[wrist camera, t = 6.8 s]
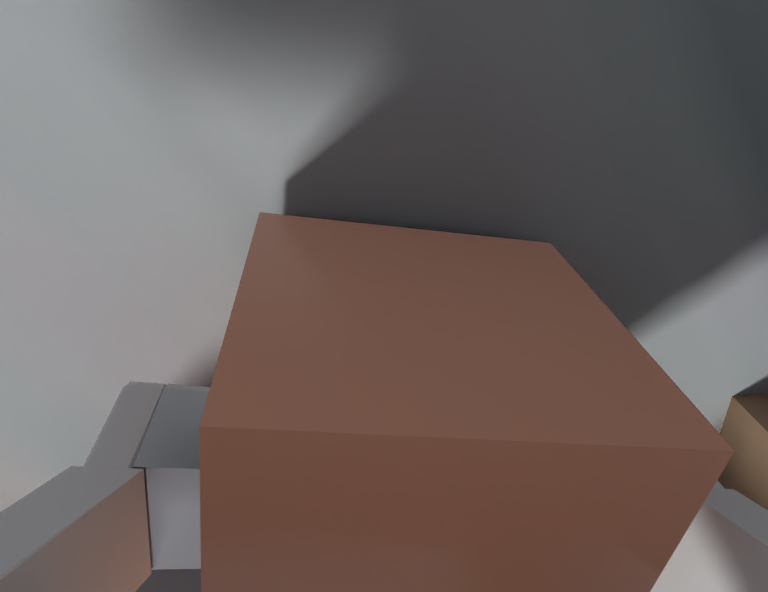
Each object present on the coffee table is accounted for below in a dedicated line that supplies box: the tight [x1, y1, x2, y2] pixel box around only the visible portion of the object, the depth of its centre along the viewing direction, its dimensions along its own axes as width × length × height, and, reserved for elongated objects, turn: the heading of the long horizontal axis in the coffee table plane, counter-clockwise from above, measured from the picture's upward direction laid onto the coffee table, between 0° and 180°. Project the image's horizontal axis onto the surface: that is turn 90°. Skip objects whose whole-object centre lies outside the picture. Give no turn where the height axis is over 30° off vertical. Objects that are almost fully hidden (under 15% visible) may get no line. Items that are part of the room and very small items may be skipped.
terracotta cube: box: [199, 212, 735, 592], centre depth 8 cm, size 5×5×5 cm
